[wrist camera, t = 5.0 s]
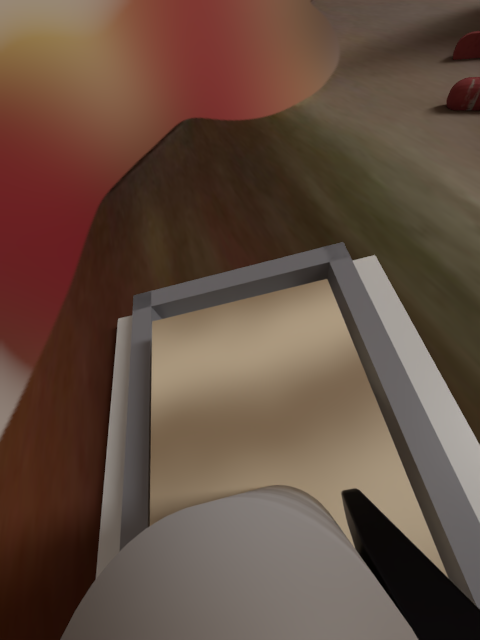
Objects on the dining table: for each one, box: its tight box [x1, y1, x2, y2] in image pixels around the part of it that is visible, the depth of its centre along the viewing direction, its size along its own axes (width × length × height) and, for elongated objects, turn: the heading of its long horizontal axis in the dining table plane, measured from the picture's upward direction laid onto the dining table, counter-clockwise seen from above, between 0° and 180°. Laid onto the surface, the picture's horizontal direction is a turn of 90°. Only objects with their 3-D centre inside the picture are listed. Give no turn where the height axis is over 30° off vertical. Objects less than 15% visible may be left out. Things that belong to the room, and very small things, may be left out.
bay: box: [96, 242, 480, 609], centre depth 11 cm, size 27×18×3 cm, turn 9°
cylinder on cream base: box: [60, 279, 448, 640], centre depth 9 cm, size 12×9×11 cm
